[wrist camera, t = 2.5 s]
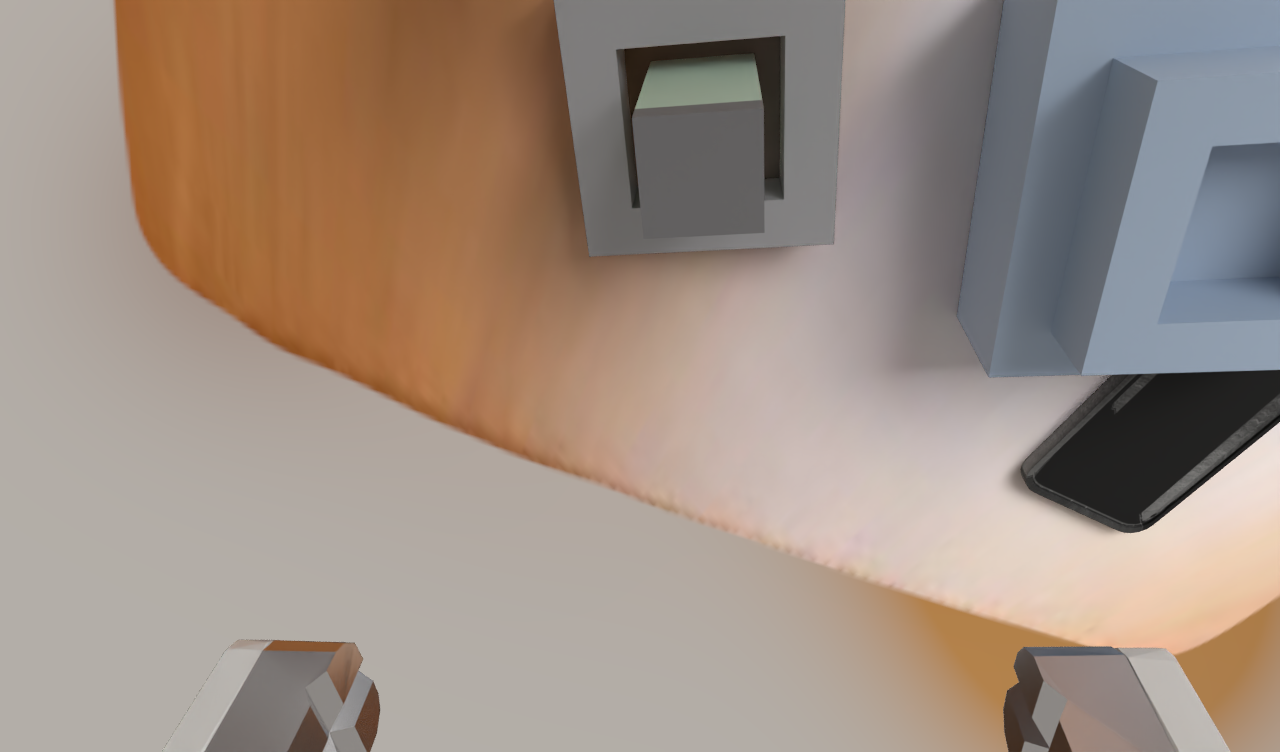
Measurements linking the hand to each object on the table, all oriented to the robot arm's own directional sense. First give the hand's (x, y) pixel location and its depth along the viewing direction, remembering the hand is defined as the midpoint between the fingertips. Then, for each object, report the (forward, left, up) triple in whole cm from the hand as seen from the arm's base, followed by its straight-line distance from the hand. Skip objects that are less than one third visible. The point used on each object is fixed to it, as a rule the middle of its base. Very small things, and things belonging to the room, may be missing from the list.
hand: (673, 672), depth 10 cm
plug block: (0, 0, -26) cm, 26 cm away
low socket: (0, 0, -26) cm, 26 cm away
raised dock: (+3, +18, -26) cm, 32 cm away
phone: (+15, +22, -27) cm, 38 cm away
